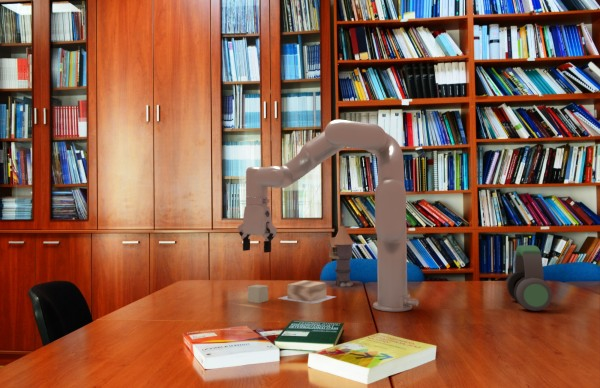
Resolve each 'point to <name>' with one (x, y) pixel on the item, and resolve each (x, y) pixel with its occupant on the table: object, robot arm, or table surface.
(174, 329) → the table surface
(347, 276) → the model tower
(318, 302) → the board
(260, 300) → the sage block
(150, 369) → the table surface
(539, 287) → the headphones
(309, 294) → the block
